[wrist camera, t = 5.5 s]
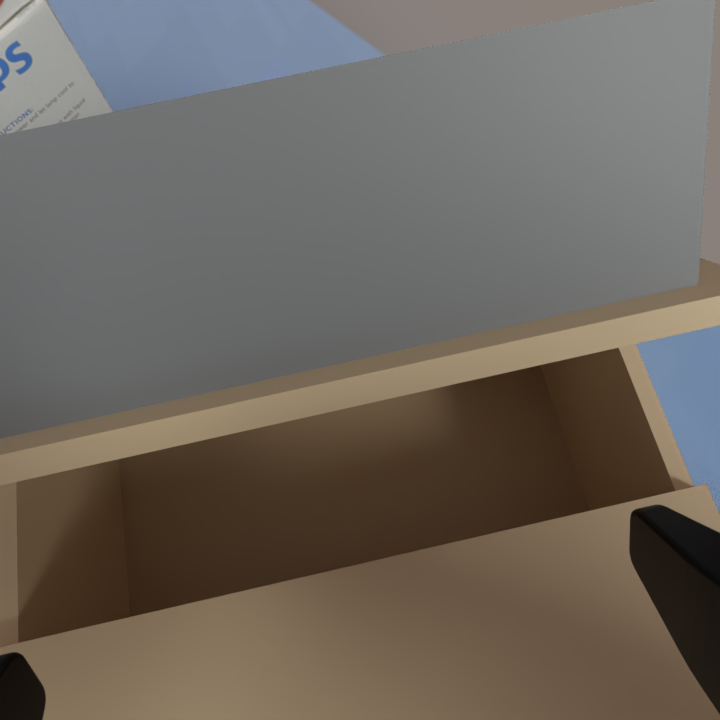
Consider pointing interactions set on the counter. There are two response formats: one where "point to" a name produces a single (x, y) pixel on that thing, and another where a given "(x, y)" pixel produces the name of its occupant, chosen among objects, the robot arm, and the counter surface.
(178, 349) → the grey stone
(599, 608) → the carton
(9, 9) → the light bulb box
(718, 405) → the counter surface
